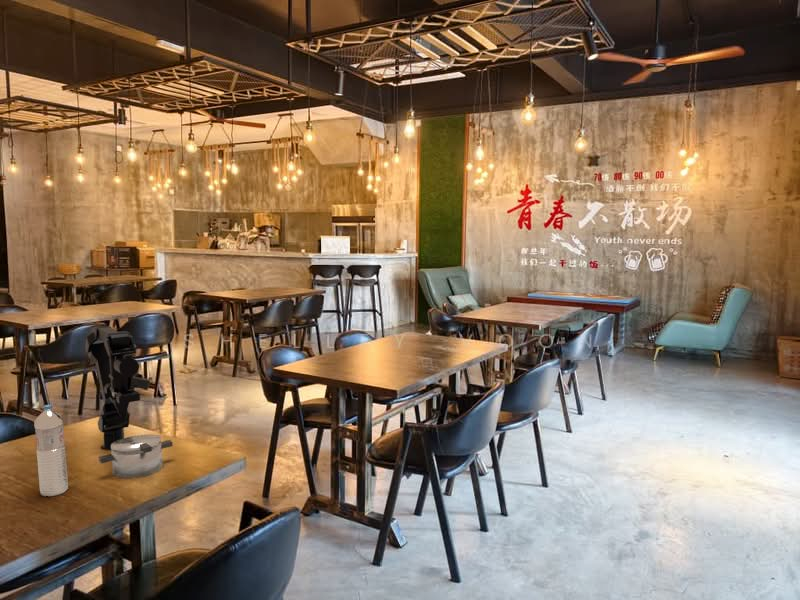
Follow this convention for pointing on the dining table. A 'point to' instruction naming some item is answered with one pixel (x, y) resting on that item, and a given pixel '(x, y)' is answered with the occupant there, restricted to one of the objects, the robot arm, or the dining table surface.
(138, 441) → the cooker lid
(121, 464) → the cooker pot
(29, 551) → the dining table surface
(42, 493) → the water bottle
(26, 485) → the dining table surface
